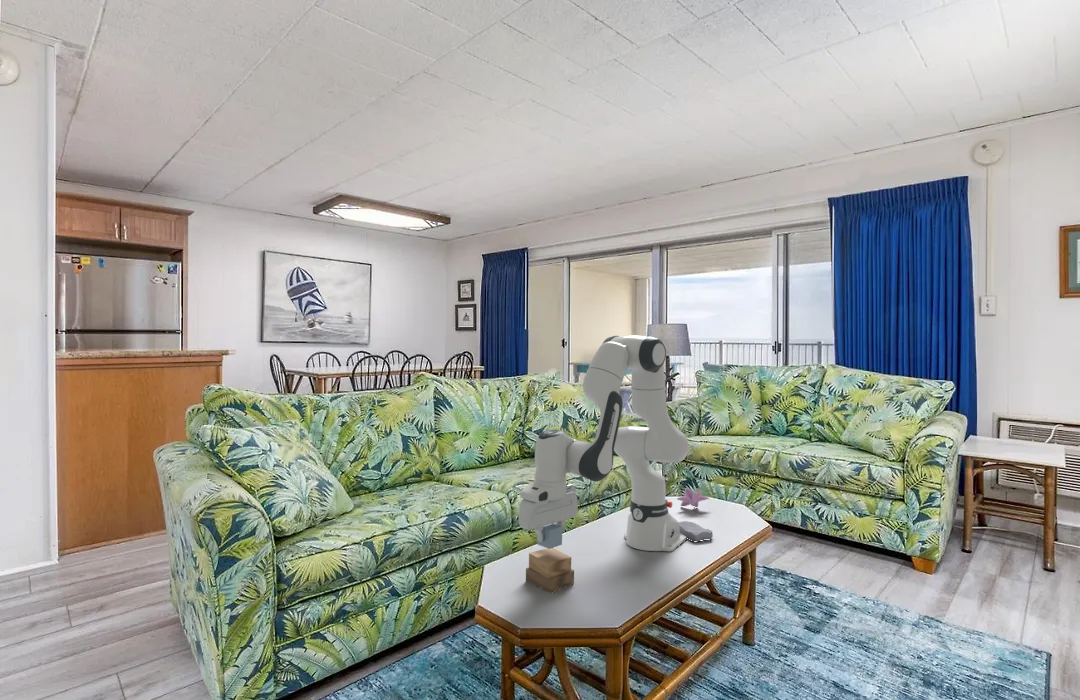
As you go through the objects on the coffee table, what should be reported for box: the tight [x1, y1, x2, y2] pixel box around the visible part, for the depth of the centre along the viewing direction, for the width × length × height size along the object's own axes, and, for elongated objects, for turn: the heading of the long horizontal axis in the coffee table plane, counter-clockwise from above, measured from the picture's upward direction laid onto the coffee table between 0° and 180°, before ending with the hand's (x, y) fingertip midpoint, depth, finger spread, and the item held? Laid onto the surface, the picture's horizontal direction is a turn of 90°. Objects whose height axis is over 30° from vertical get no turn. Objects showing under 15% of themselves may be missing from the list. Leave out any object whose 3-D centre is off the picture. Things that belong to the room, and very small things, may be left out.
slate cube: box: [536, 523, 563, 549], centre depth 156 cm, size 5×5×5 cm
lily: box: [676, 487, 710, 512], centre depth 226 cm, size 12×12×10 cm
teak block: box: [528, 547, 572, 578], centre depth 157 cm, size 8×9×4 cm
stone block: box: [678, 520, 714, 542], centre depth 197 cm, size 12×5×10 cm
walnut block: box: [525, 566, 575, 594], centre depth 157 cm, size 9×10×4 cm
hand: (549, 538), depth 156 cm, fingers closed on slate cube, 5 cm apart
